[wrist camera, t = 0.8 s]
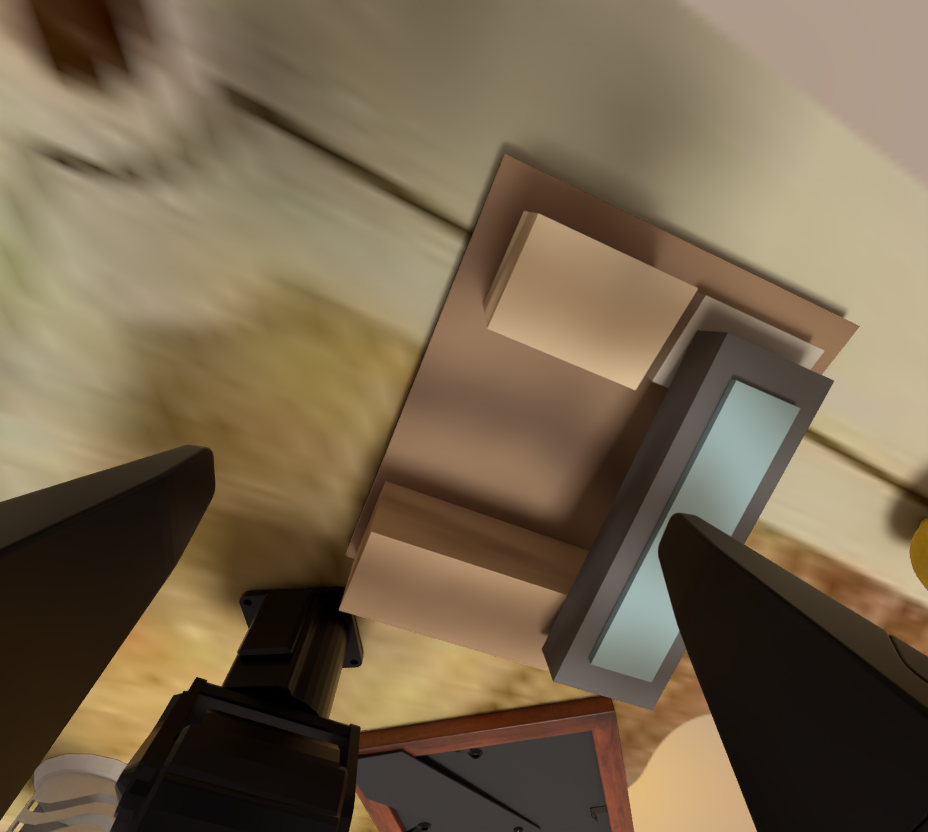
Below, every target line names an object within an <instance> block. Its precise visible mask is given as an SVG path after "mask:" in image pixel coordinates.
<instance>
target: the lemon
mask: <svg viewBox="0 0 928 832" xmlns="http://www.w3.org/2000/svg"><path fill="white" fill-rule="evenodd" d="M910 559H911V563H912V566H913V570H914V572H915V573H916V575H917V577H918V578H919V580H920V581H921V583H922V584H923V585H924V587H925V588H926V589H927V590H928V518H925V519H923V520H922V521H921V522H920V527H919V528H918V529H917V531H916V532H915V534H914V536H913V538H912V540H911V545H910Z"/></svg>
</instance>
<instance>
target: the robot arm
mask: <svg viewBox="0 0 928 832" xmlns="http://www.w3.org/2000/svg"><path fill="white" fill-rule="evenodd" d="M214 492H215V471H214V456H213V452H212V450H211V449H210V448H208V447H202V446H195V445H185V446H181V447H178V448H175V449H172V450H168V451H165V452H162V453H159V454H155V455H152V456H149V457H146V458H142V459H139V460H136V461H133V462H129V463H126V464H123V465H119V466H116V467H113V468H110V469H106V470H103V471H100V472H97V473H93V474H90V475H87V476H84V477H80V478H77V479H74V480H71V481H67V482H64V483H61V484H58V485H54V486H51V487H48V488H45V489H41V490H38V491H35V492H32V493H28V494H25V495H22V496H19V497H15V498H12V499H9V500H6V501H2V502H0V820H1V819H2V817H3V816H4V814H5V813H6V811H7V810H8V809H9V807H10V806H11V804H12V803H13V801H14V800H15V798H16V797H17V796H18V794H19V793H20V791H21V790H22V788H23V787H24V785H25V784H26V782H27V781H28V780H29V778H30V777H31V775H32V774H33V772H34V771H35V769H36V768H37V767H38V765H39V764H40V762H41V761H42V759H43V758H44V756H45V755H46V754H47V752H48V751H49V749H50V748H51V746H52V745H53V743H54V742H55V740H56V739H57V738H58V736H59V735H60V733H61V732H62V730H63V729H64V727H65V726H66V725H67V723H68V722H69V720H70V719H71V717H72V716H73V714H74V713H75V712H76V710H77V709H78V707H79V706H80V704H81V703H82V701H83V700H84V699H85V697H86V696H87V694H88V693H89V691H90V690H91V688H92V687H93V685H94V684H95V683H96V681H97V680H98V678H99V677H100V675H101V674H102V672H103V671H104V670H105V668H106V667H107V665H108V664H109V662H110V661H111V659H112V658H113V657H114V655H115V654H116V652H117V651H118V649H119V648H120V646H121V645H122V644H123V642H124V641H125V639H126V638H127V636H128V635H129V633H130V632H131V630H132V629H133V628H134V626H135V625H136V623H137V622H138V620H139V619H140V617H141V616H142V615H143V613H144V612H145V610H146V609H147V607H148V606H149V604H150V603H151V602H152V600H153V599H154V597H155V596H156V594H157V593H158V591H159V590H160V588H161V587H162V586H163V584H164V583H165V581H166V580H167V578H168V577H169V575H170V574H171V572H172V571H173V569H174V568H175V566H176V564H177V563H178V561H179V559H180V558H181V556H182V554H183V552H184V550H185V548H186V547H187V545H188V543H189V541H190V539H191V537H192V535H193V533H194V532H195V530H196V528H197V526H198V524H199V522H200V520H201V519H202V517H203V515H204V513H205V511H206V509H207V507H208V505H209V504H210V502H211V500H212V498H213V495H214ZM658 558H659V561H660V565H661V569H662V572H663V576H664V580H665V583H666V587H667V591H668V594H669V598H670V602H671V605H672V609H673V613H674V616H675V619H676V622H677V626H678V629H679V631H680V634H681V637H682V640H683V642H684V645H685V647H686V650H687V652H688V655H689V658H690V660H691V663H692V665H693V668H694V671H695V673H696V676H697V678H698V681H699V683H700V686H701V689H702V691H703V694H704V696H705V699H706V701H707V704H708V707H709V709H710V712H711V714H712V717H713V719H714V722H715V725H716V727H717V730H718V732H719V735H720V737H721V740H722V743H723V745H724V748H725V750H726V753H727V755H728V758H729V761H730V763H731V766H732V768H733V771H734V773H735V776H736V778H737V781H738V784H739V786H740V789H741V791H742V794H743V797H744V799H745V802H746V804H747V807H748V809H749V812H750V814H751V817H752V820H753V822H754V825H755V827H756V830H757V832H928V656H926V655H925V654H923V653H921V652H920V651H918V650H916V649H915V648H913V647H911V646H910V645H908V644H906V643H905V642H903V641H901V640H900V639H898V638H897V637H895V636H893V635H888V634H887V632H886V631H885V630H883V629H882V628H880V627H878V626H877V625H875V624H873V623H872V622H870V621H869V620H867V619H865V618H864V617H862V616H860V615H859V614H857V613H855V612H854V611H852V610H851V609H849V608H847V607H846V606H844V605H842V604H841V603H839V602H837V601H836V600H834V599H832V598H831V597H829V596H828V595H826V594H824V593H823V592H821V591H819V590H818V589H816V588H814V587H813V586H811V585H810V584H808V583H806V582H805V581H803V580H801V579H800V578H798V577H796V576H795V575H793V574H792V573H790V572H788V571H787V570H785V569H783V568H782V567H780V566H778V565H777V564H775V563H774V562H772V561H770V560H769V559H767V558H765V557H764V556H762V555H760V554H759V553H757V552H755V551H754V550H752V549H751V548H749V547H747V546H746V545H744V544H742V543H741V542H739V541H737V540H736V539H734V538H733V537H731V536H729V535H728V534H726V533H724V532H723V531H721V530H719V529H718V528H716V527H715V526H713V525H711V524H710V523H708V522H706V521H705V520H703V519H701V518H700V517H698V516H696V515H693V514H686V513H675V514H673V515H672V516H671V517H670V519H669V521H668V524H667V526H666V528H665V531H664V533H663V535H662V538H661V540H660V543H659V546H658ZM344 591H345V588H343V587H331V588H308V589H285V590H262V591H247V592H244V593H243V595H242V597H241V598H240V600H239V602H240V605H241V608H242V611H243V614H244V617H245V620H246V622H247V625H248V628H249V629H248V631H247V633H246V635H245V637H244V639H243V641H242V643H241V645H240V647H239V649H238V652H237V653H238V654H237V656H236V658H235V660H234V662H233V664H232V666H231V668H230V670H229V672H228V674H227V676H226V678H225V680H224V682H223V684H222V686H218V685H214V684H211V683H208V682H207V680H205V679H202V678H199V677H196V679H195V680H194V682H193V684H192V685H191V687H190V689H189V690H188V691H183V693H181V694H177V695H173V697H172V699H171V700H170V702H169V704H168V706H167V707H166V709H165V711H164V712H163V714H162V716H161V717H160V719H159V721H158V722H157V724H156V726H155V727H154V729H153V730H152V732H151V733H150V735H149V736H148V737H147V739H146V740H145V741H144V743H143V744H142V745H141V747H140V748H139V750H138V751H137V752H136V754H135V755H134V756H133V758H132V759H131V760H130V762H129V763H128V764H127V766H126V767H125V768H124V770H123V771H122V773H121V775H120V776H119V778H118V780H117V782H116V784H115V792H116V796H117V801H118V806H117V808H116V811H115V813H114V816H113V817H114V818H116V819H115V821H114V823H113V825H112V828H111V830H110V832H349V828H350V824H351V820H352V814H353V809H354V801H355V791H356V779H357V766H358V753H359V741H360V726H357V725H354V724H350V725H347V724H343V723H340V722H337V721H333V720H330V719H329V716H330V712H331V708H332V705H333V701H334V697H335V693H336V689H337V685H338V682H339V678H340V674H341V670H342V668H352V667H359V666H361V664H362V661H363V653H362V648H361V644H360V639H359V635H358V630H357V625H356V621H355V616H354V615H353V614H349V613H346V612H343V611H339V608H340V604H341V601H342V598H343V595H344ZM338 595H340V596H338ZM341 596H342V597H341Z"/></svg>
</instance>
